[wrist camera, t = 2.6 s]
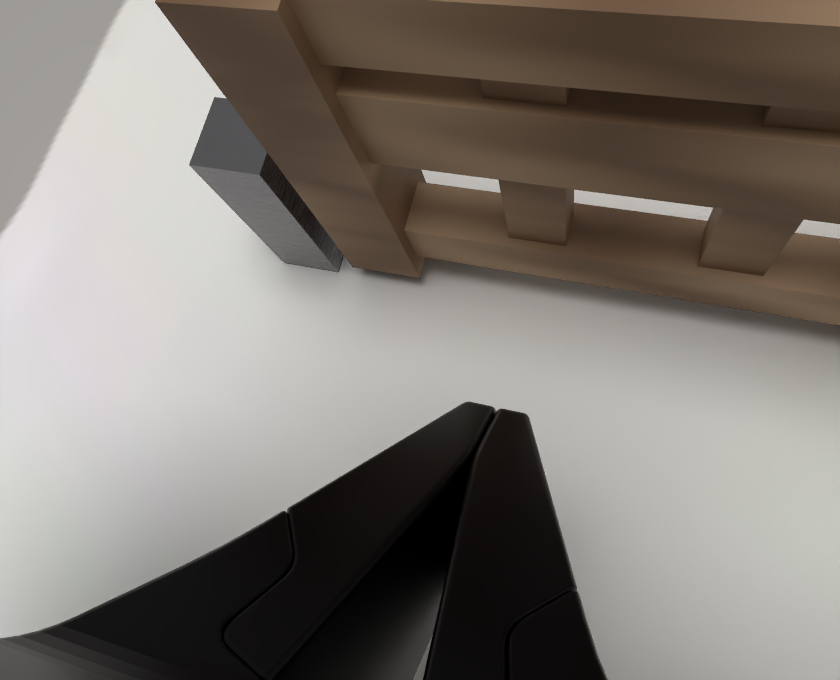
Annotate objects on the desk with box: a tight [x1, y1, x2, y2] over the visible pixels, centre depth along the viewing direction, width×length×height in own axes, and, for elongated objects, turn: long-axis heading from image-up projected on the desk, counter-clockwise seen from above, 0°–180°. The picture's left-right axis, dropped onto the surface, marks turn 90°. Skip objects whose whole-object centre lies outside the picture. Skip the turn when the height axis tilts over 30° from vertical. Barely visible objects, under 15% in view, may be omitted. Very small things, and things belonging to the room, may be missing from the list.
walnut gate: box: [155, 0, 840, 325], centre depth 12 cm, size 13×2×9 cm, turn 75°
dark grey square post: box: [189, 97, 343, 272], centre depth 12 cm, size 2×18×9 cm, turn 75°
